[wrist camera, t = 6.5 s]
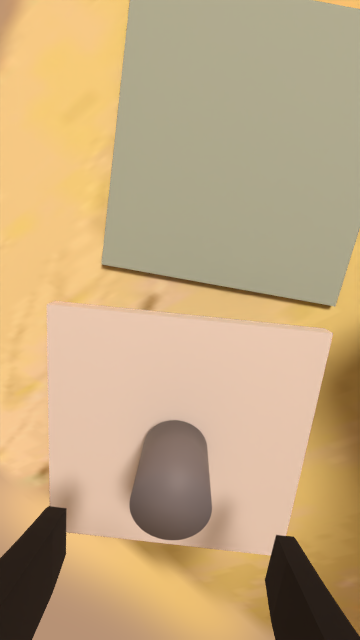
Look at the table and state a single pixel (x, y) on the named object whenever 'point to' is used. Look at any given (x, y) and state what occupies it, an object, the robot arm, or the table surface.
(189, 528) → the lid
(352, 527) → the table surface
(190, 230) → the mat
